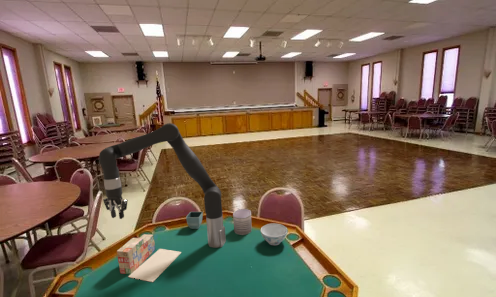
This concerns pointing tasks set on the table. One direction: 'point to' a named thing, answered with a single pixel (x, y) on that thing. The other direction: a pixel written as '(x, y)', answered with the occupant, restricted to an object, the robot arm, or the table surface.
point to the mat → (155, 265)
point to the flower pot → (194, 219)
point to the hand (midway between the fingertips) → (117, 217)
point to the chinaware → (274, 233)
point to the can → (242, 221)
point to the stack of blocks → (135, 253)
